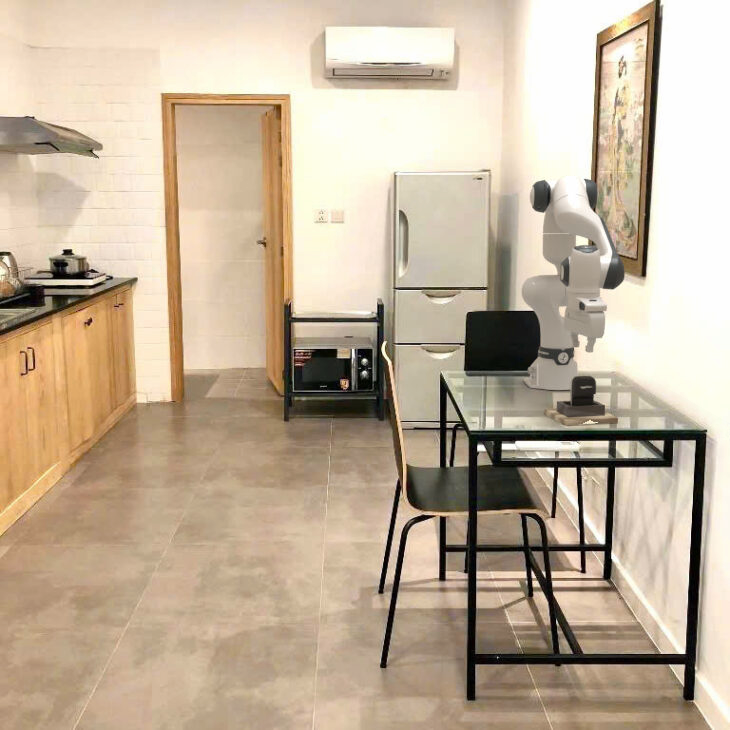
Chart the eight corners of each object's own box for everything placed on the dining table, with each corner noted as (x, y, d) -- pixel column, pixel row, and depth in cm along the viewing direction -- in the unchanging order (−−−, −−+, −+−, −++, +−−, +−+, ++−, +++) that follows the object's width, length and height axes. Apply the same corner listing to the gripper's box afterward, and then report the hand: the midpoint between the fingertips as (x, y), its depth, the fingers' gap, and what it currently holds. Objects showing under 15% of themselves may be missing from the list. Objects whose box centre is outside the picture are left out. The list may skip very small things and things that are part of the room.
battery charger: (574, 416, 262) (575, 377, 261) (568, 413, 266) (570, 375, 264) (596, 415, 264) (598, 376, 262) (591, 412, 267) (592, 374, 266)
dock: (544, 413, 273) (544, 399, 272) (593, 411, 276) (594, 396, 275) (565, 425, 258) (566, 410, 257) (617, 423, 261) (618, 407, 260)
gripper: (559, 298, 271) (557, 344, 273) (588, 306, 251) (586, 355, 253) (579, 298, 272) (577, 343, 274) (609, 305, 252) (607, 354, 254)
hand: (582, 349), depth 264 cm, fingers open, 8 cm apart
